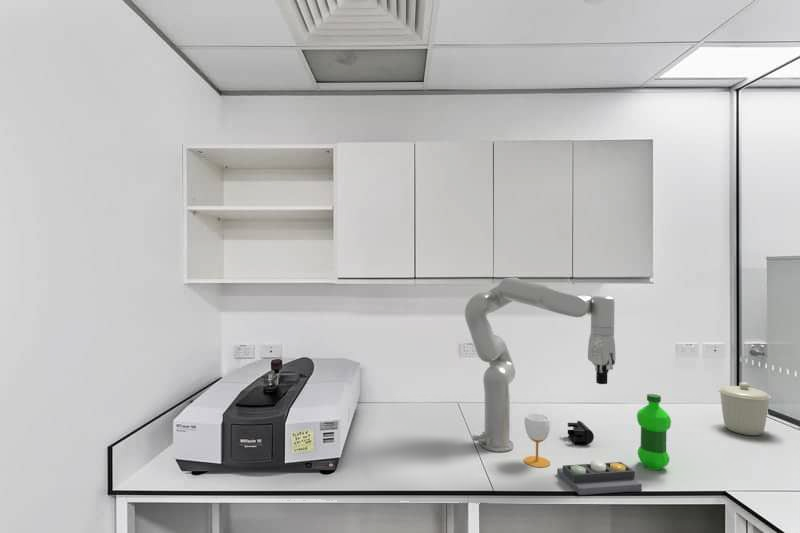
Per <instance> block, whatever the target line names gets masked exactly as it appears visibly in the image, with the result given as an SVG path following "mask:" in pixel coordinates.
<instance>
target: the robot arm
mask: <svg viewBox="0 0 800 533" xmlns="http://www.w3.org/2000/svg"><path fill="white" fill-rule="evenodd" d="M512 302H516V303H520V304H524V305H528V306H532V307H535V308H540V309H541V310H547V311H550V312H553V313H557V314H560V315H565V316H568V317H572V318H582V317H584V316H586V315H590V334H589V339H588V346H587V347H588V348H587V359H588V361H589V362H591V363H592V365H594V367H595V371H596V375H595V378H596V384H599V385H607V384H608V373H610V372H609V371H610V370H612V371H613V370H614V369H613V368H614V367H613V366H614V365H615V364H616V343H615V299H614V298H613V297H612V296H607V295H594V296H593V295H588V294H587V295H586V294H571V293H566V292H561V291H557V290H554V289H551V288H549V287H548V286H546V285H544V284H540V283H536V282H531V281H527V280H526V281H525V280H522V279H520V278H519V277H514V276H513V277H505V278H502V279H501V281H500V282H499V284H498V285H497V286H495V287H493V288H491V289H490V290H487V291H483V292H479V293H476V294H475V295H473V296H472V297H471V298H469V300H468V301H467V303H466V306H465V308H464V318H465V322H466V325H467V327H468V330H469V334H470V335H471V339H472V342H473V345H474V348H475V351H476V354H477V356H478V358H479V360H481V361H483V362H484V363H488V364H489V366H488V367H487V369H486V370H485V371H484V374H483V378H482V379H483V391H484V431H482V432H481V433H482V434H480V435H472V436H471V437H472V441H473V442H474V441H477V443H479V445H480V446H481V448H483V449H485V450H488V451H491V452H497V453H498V452H500V453H502V452H504V453H505V452H509V451H512V450H513V448H514V442H513V441H512V440H510V428H511V427H510V426H511V425H510V423H511V422H510V421H511V420H510V417H511V415H510V414H511V409H510V407H511V405H510V404H511V402H510V400H511V399H510V397H511V396H510V390H509V388H510V383H512V381H514V379H515V376H516V369H515V366H514V363H513V360H512V357H511V355H510V351H509V348H508V346H507V344H506V342H505V341H504V339H503V338H502V337H500V335H496V334H494V331H493V329H492V326H491V324H490V321H489V320H488V318H487V315H488V314H490V313H494V312H495V311H498V310H500V309H502V308H503V307H505V306H506V305H509V304H510V303H512Z"/></svg>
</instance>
